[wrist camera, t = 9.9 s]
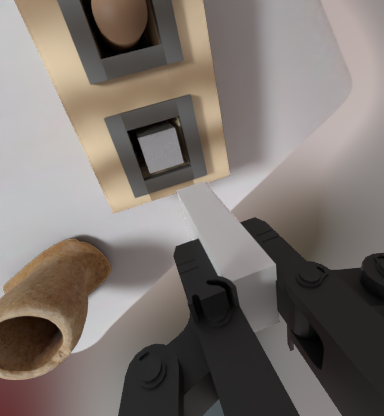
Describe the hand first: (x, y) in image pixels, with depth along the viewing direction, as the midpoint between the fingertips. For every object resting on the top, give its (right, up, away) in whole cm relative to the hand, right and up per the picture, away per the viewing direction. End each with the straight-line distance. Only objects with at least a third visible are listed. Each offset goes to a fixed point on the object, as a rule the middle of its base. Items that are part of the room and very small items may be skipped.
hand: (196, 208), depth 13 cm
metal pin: (-6, +10, +18) cm, 21 cm away
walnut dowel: (-8, +19, +13) cm, 24 cm away
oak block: (-7, +14, +16) cm, 23 cm away
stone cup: (-21, -9, +25) cm, 34 cm away
